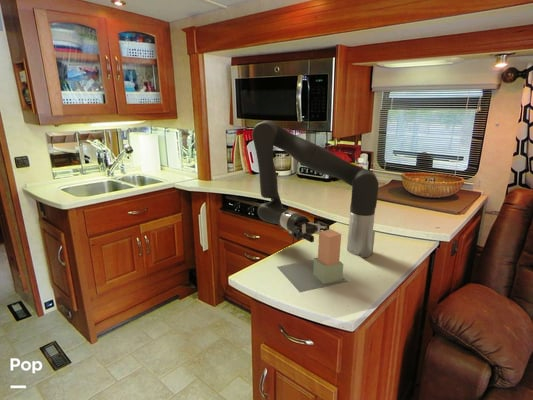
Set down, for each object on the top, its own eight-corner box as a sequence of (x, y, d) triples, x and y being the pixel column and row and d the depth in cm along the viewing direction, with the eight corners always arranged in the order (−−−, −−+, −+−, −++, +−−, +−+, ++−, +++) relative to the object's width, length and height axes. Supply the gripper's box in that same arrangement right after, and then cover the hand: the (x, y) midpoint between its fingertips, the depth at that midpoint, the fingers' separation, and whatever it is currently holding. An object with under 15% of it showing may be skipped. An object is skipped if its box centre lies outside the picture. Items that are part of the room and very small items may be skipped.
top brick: (328, 256, 117) (330, 229, 114) (339, 262, 113) (341, 234, 110) (317, 259, 115) (319, 232, 112) (327, 265, 111) (329, 237, 108)
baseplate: (320, 261, 129) (320, 258, 129) (348, 284, 113) (348, 281, 113) (276, 269, 123) (276, 266, 123) (299, 294, 107) (299, 292, 107)
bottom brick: (330, 270, 120) (331, 255, 118) (342, 280, 114) (343, 263, 112) (313, 274, 118) (314, 258, 116) (323, 284, 111) (324, 267, 110)
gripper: (278, 216, 123) (306, 230, 110) (309, 209, 130) (339, 222, 117) (278, 235, 125) (305, 252, 112) (308, 228, 132) (338, 242, 119)
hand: (323, 237), depth 115 cm, fingers open, 8 cm apart
